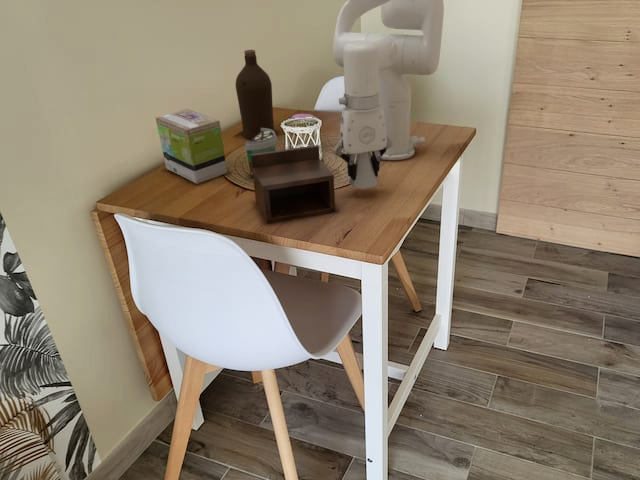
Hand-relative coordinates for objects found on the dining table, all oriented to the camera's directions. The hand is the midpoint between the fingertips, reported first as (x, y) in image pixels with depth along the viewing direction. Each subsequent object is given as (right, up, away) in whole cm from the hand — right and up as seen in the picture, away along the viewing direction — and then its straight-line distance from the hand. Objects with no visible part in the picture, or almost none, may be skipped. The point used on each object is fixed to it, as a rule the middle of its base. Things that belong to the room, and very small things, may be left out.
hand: (363, 175), depth 137 cm
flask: (0, -2, +1) cm, 2 cm away
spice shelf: (-16, -8, -3) cm, 18 cm away
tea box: (-45, +3, +16) cm, 48 cm away
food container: (-25, +4, +16) cm, 30 cm away
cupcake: (-17, +13, +31) cm, 38 cm away
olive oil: (-32, +20, +42) cm, 56 cm away
